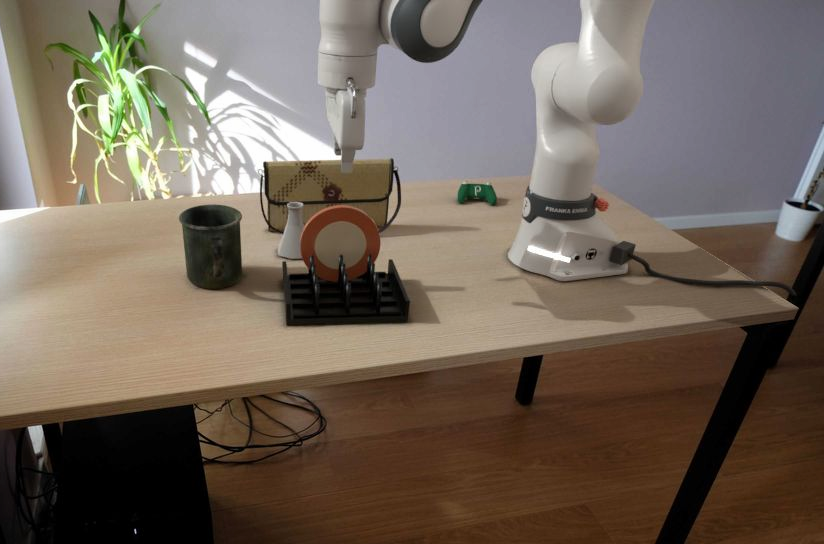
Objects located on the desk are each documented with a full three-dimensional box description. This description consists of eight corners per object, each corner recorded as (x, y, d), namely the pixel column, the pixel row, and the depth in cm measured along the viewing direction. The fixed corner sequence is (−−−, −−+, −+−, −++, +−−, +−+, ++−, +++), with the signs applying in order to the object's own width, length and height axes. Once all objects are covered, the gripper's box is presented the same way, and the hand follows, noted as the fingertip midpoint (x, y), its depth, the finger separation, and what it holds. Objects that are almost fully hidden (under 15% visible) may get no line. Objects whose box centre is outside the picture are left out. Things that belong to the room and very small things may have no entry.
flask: (309, 262, 128) (309, 212, 123) (272, 258, 129) (271, 209, 124) (316, 247, 134) (317, 199, 129) (282, 243, 135) (281, 196, 130)
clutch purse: (261, 241, 136) (259, 169, 128) (259, 228, 141) (256, 159, 134) (402, 235, 140) (408, 165, 132) (394, 223, 146) (399, 155, 138)
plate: (376, 278, 120) (381, 204, 113) (377, 281, 119) (383, 206, 111) (299, 279, 119) (299, 205, 111) (300, 283, 117) (300, 207, 110)
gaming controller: (494, 210, 159) (494, 187, 161) (497, 203, 156) (497, 179, 157) (455, 208, 160) (456, 185, 161) (458, 201, 156) (458, 178, 158)
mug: (239, 261, 127) (236, 202, 121) (253, 296, 115) (250, 232, 109) (182, 267, 125) (176, 206, 118) (190, 303, 113) (183, 238, 106)
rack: (390, 278, 122) (393, 243, 119) (408, 322, 109) (411, 283, 105) (282, 281, 121) (282, 245, 117) (286, 325, 107) (285, 286, 103)
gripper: (378, 86, 92) (371, 183, 99) (358, 61, 109) (353, 145, 116) (333, 85, 91) (329, 183, 98) (320, 61, 109) (318, 145, 116)
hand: (342, 162), depth 108 cm, fingers open, 8 cm apart
